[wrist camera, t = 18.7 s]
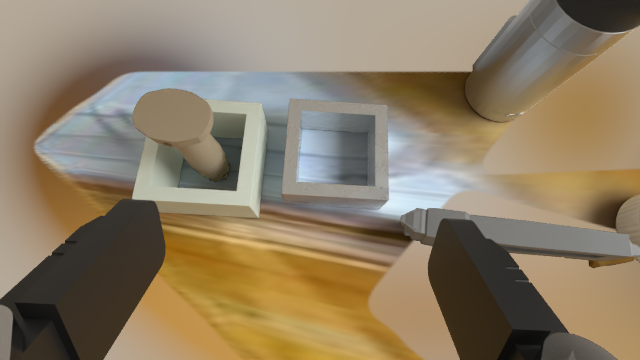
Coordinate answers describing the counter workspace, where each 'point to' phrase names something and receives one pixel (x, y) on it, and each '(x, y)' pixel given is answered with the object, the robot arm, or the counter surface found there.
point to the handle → (182, 129)
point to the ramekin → (630, 220)
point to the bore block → (337, 119)
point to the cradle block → (162, 187)
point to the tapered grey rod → (529, 237)
